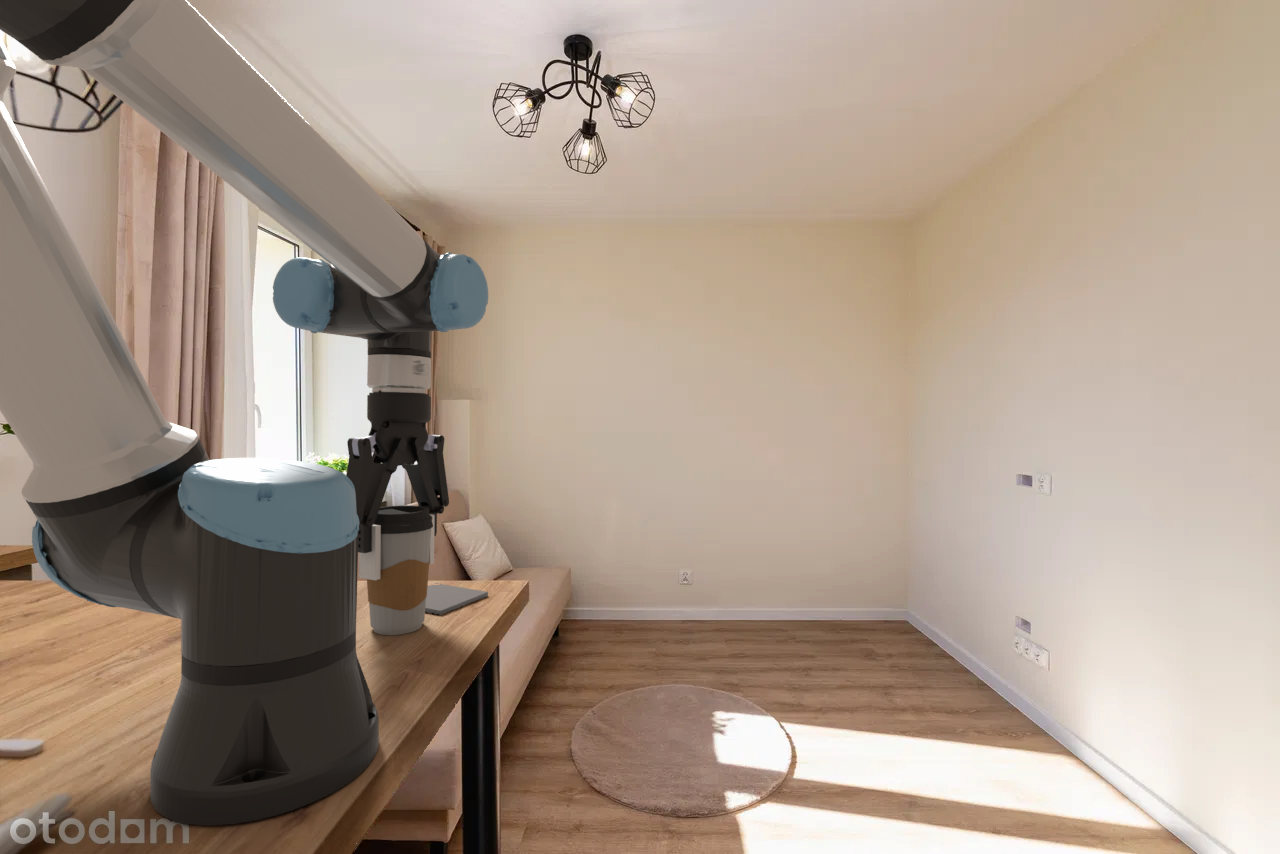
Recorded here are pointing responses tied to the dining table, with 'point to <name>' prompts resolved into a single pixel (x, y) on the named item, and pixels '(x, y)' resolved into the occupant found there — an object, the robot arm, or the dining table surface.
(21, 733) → the dining table surface
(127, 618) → the dining table surface
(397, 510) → the coffee cup
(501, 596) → the dining table surface
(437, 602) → the coaster
